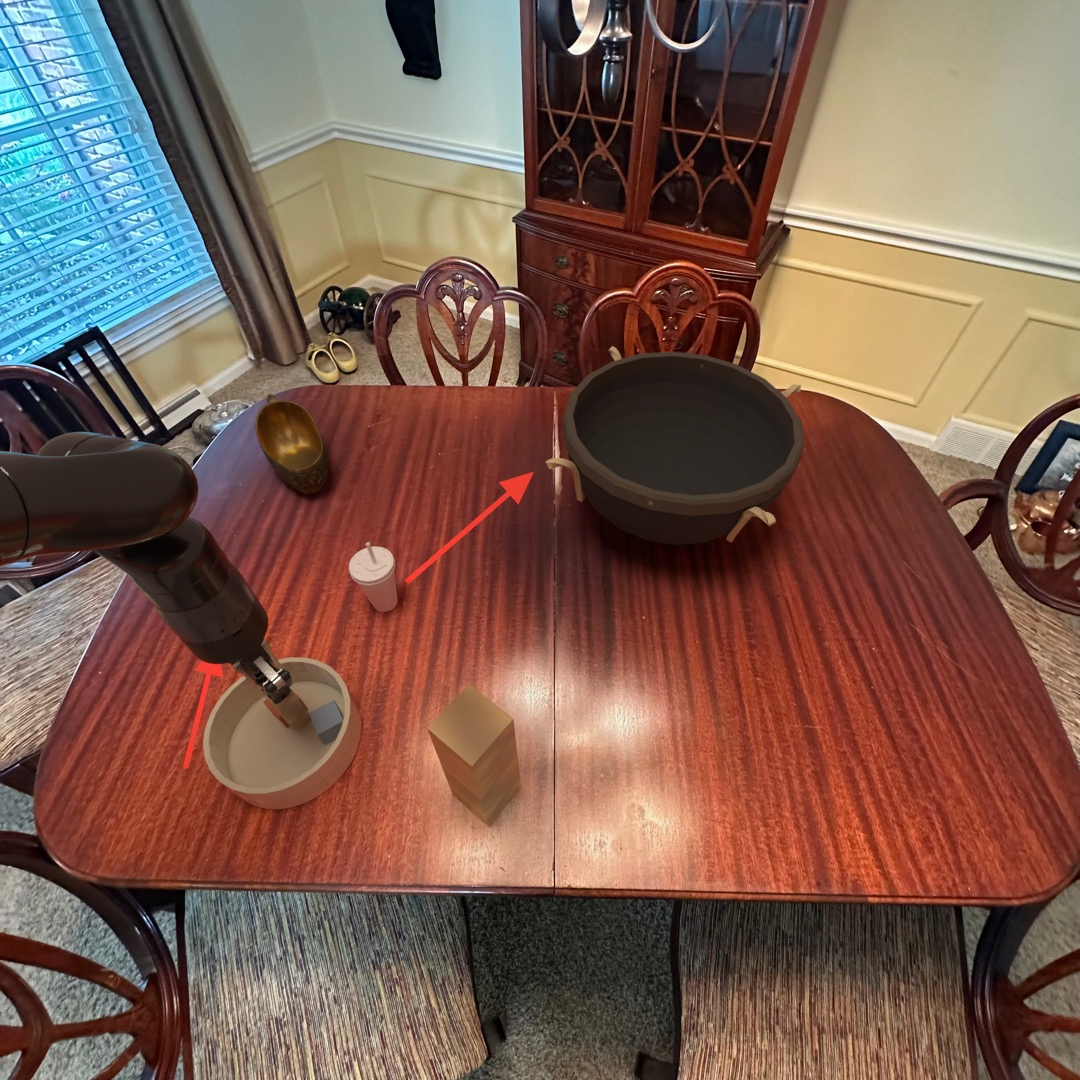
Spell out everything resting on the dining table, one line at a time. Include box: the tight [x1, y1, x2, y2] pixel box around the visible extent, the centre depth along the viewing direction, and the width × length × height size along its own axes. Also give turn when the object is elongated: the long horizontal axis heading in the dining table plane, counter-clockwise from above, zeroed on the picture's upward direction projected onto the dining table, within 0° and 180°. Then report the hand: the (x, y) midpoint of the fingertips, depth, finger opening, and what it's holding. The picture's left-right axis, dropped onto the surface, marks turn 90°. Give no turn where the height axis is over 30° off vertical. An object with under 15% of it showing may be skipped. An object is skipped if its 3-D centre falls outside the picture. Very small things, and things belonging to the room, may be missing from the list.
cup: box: [254, 393, 329, 495], centre depth 108 cm, size 13×20×10 cm, turn 4°
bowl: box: [545, 345, 805, 546], centre depth 96 cm, size 35×35×20 cm
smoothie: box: [348, 541, 399, 613], centre depth 87 cm, size 6×6×14 cm
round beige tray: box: [202, 656, 362, 810], centre depth 76 cm, size 17×17×6 cm
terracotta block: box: [263, 693, 308, 728], centre depth 79 cm, size 3×3×3 cm
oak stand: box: [426, 683, 522, 828], centre depth 66 cm, size 6×6×20 cm
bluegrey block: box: [309, 700, 344, 745], centre depth 77 cm, size 3×3×3 cm
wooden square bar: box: [246, 669, 311, 733], centre depth 72 cm, size 2×2×14 cm
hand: (274, 689), depth 71 cm, fingers closed on wooden square bar, 2 cm apart
